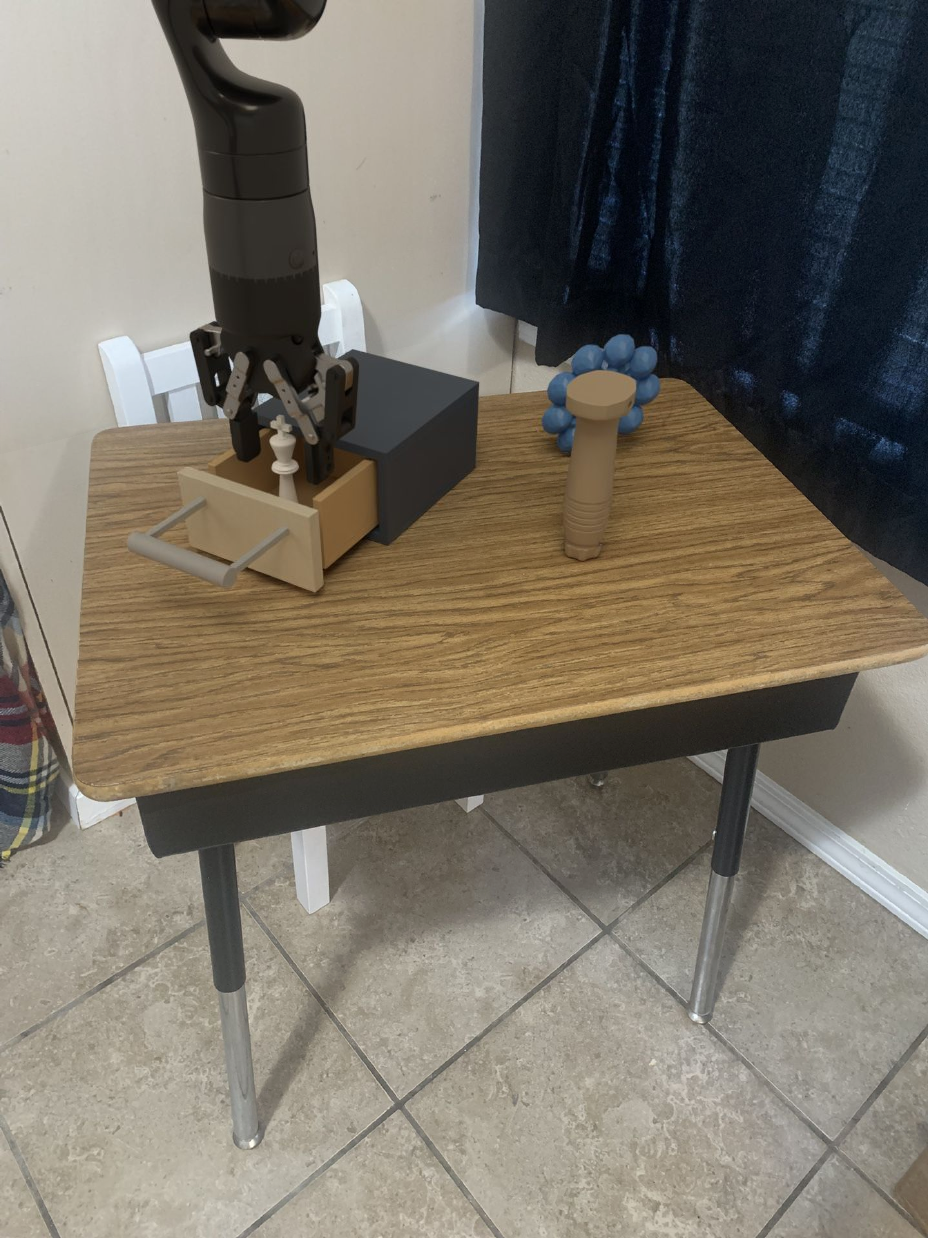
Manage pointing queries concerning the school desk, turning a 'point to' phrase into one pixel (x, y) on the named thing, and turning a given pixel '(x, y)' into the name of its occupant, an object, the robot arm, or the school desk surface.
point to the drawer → (266, 517)
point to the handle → (593, 457)
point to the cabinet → (404, 435)
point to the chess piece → (284, 458)
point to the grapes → (613, 358)
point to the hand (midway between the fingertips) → (283, 468)
